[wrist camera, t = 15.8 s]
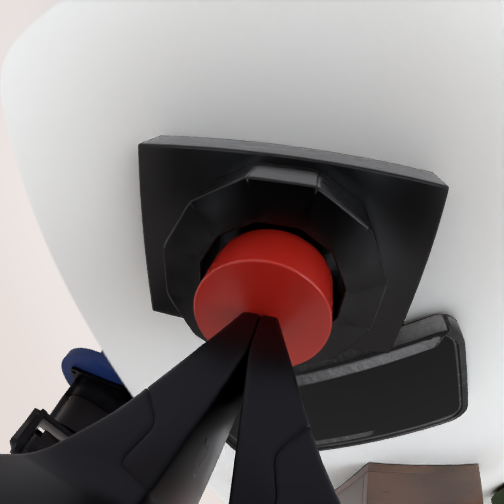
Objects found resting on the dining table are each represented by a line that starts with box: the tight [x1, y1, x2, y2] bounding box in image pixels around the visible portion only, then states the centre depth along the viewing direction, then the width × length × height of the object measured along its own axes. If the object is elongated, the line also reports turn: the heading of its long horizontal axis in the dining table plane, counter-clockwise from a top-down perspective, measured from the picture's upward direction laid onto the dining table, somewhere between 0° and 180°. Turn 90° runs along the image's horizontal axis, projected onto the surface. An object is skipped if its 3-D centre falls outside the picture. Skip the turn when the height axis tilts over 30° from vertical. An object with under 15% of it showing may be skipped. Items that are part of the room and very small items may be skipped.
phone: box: [226, 314, 468, 451], centre depth 16 cm, size 8×1×15 cm
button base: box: [138, 136, 449, 368], centre depth 11 cm, size 10×7×4 cm
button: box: [194, 229, 333, 366], centre depth 9 cm, size 4×4×2 cm
